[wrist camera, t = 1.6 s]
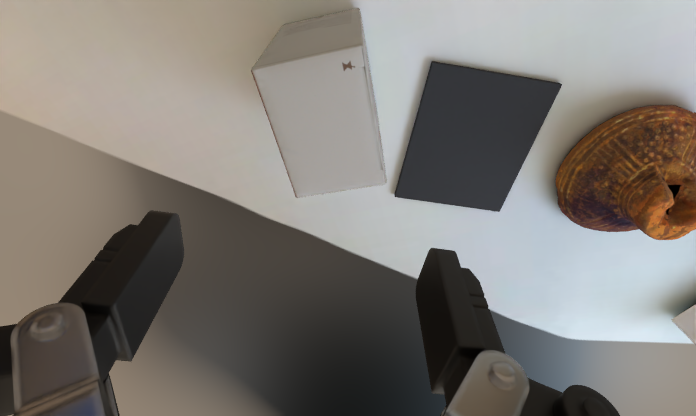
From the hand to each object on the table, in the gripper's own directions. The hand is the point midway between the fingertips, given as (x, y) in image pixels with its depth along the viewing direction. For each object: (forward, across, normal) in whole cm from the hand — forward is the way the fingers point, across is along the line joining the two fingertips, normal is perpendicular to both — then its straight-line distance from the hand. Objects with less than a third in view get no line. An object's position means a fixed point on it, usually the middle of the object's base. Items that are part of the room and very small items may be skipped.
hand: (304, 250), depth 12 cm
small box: (+20, 0, 0) cm, 20 cm away
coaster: (+20, -12, +4) cm, 23 cm away
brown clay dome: (+20, -26, +4) cm, 33 cm away
